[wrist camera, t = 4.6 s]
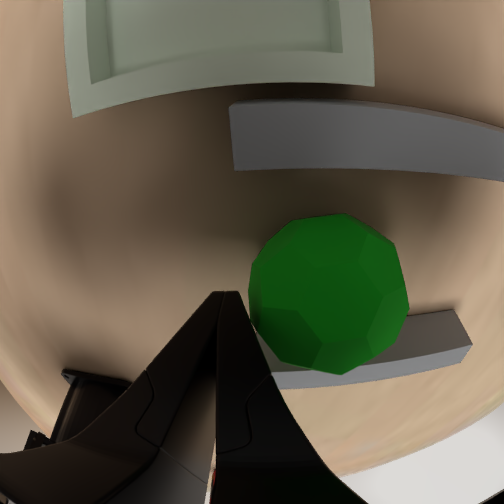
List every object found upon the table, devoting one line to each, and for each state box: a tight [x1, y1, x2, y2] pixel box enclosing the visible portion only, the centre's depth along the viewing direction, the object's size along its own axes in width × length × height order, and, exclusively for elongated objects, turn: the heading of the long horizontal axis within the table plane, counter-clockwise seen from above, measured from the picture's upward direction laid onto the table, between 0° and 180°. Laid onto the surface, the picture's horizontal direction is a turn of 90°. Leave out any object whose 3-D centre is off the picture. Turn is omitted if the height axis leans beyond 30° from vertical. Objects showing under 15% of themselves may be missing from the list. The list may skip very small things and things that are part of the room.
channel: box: [228, 98, 504, 389], centre depth 9 cm, size 18×12×2 cm
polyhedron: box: [248, 213, 410, 375], centre depth 9 cm, size 5×5×5 cm
